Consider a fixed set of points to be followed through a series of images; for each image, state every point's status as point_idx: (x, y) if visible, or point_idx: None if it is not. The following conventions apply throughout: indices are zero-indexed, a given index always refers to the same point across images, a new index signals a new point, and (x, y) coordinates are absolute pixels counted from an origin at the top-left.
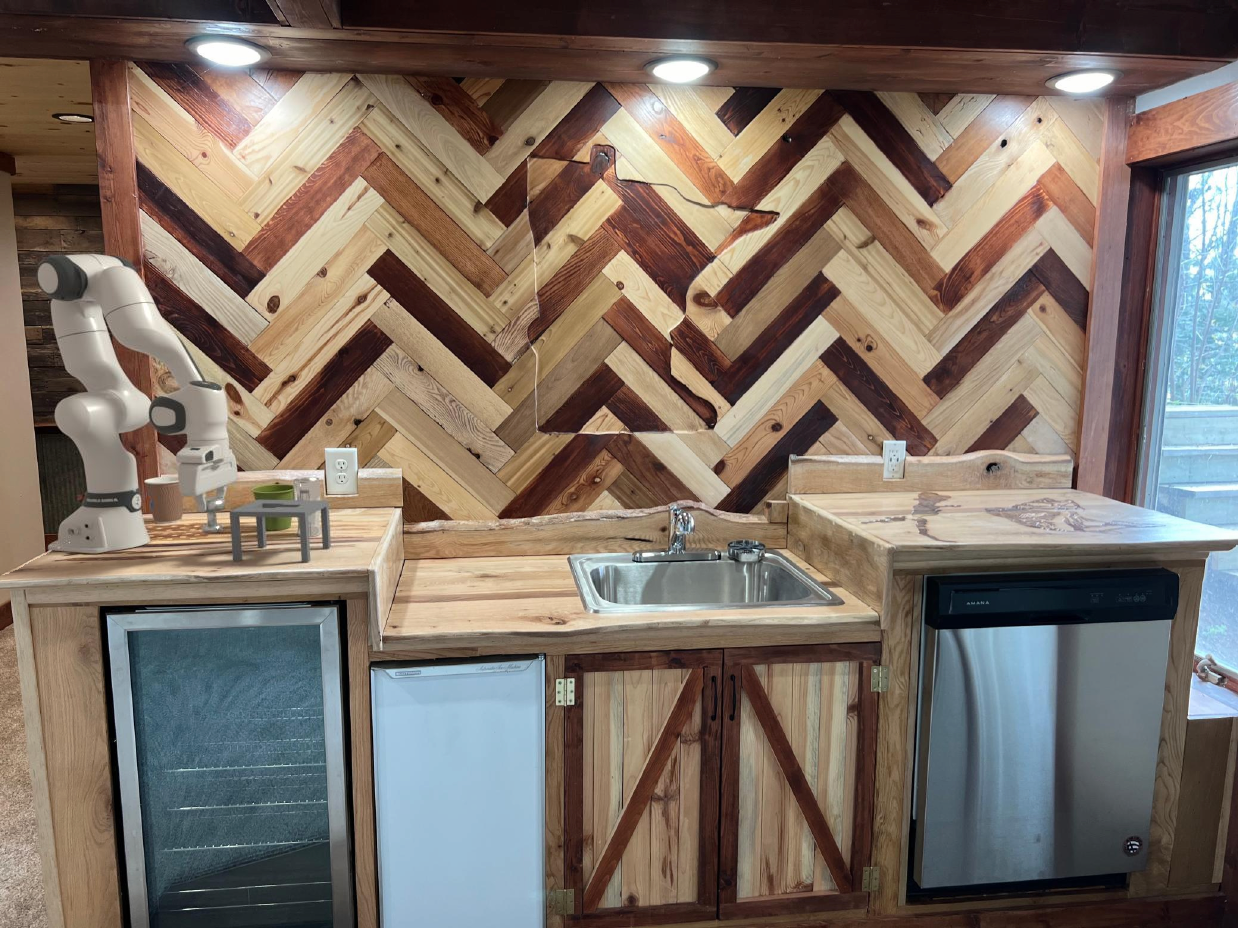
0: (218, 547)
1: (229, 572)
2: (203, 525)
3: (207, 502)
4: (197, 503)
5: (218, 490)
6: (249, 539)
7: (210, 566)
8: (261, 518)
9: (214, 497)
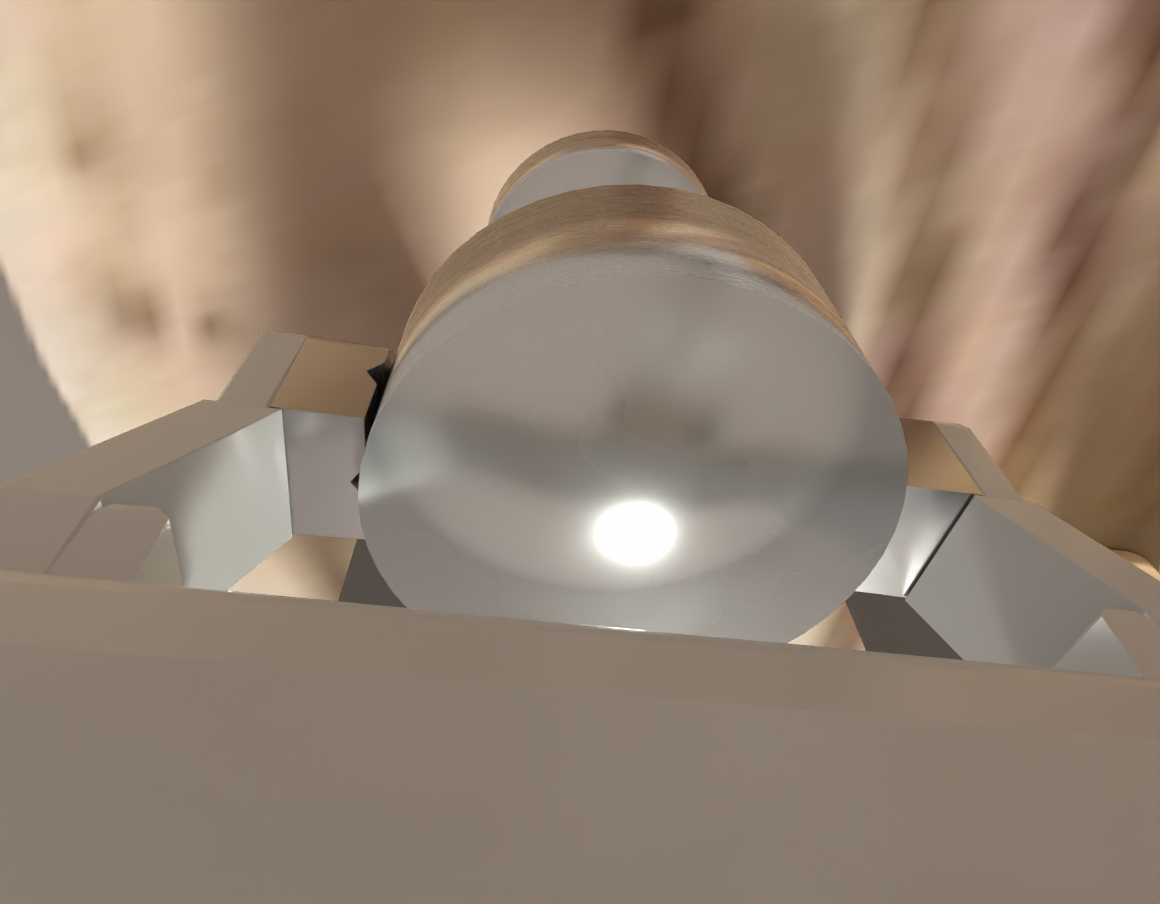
0: (938, 77)
1: (121, 425)
2: (609, 164)
3: (369, 535)
4: (195, 415)
5: (1089, 624)
6: (1145, 271)
7: (252, 243)
8: (855, 621)
9: (822, 530)
